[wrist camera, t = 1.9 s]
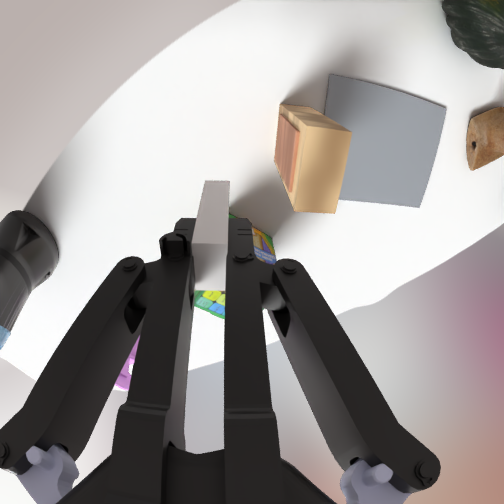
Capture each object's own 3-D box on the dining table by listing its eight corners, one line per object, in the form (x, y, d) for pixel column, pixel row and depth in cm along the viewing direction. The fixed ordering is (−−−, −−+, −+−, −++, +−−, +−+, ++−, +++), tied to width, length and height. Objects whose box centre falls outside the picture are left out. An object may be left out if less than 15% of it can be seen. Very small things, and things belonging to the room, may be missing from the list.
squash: (494, -22, 10) (521, -19, 4) (523, 57, 18) (551, 88, 12) (424, -17, 20) (427, -16, 14) (458, 58, 28) (469, 86, 23)
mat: (311, 196, 40) (312, 197, 40) (329, 74, 29) (330, 74, 29) (417, 206, 42) (419, 207, 41) (444, 108, 31) (446, 108, 30)
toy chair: (101, 326, 56) (85, 383, 44) (122, 314, 53) (105, 375, 41) (128, 345, 60) (116, 399, 48) (150, 334, 58) (140, 394, 46)
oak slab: (271, 161, 36) (291, 211, 25) (277, 103, 32) (303, 125, 20) (302, 163, 37) (335, 213, 26) (310, 107, 32) (352, 132, 21)
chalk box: (224, 209, 40) (222, 279, 29) (274, 237, 44) (290, 309, 32) (193, 251, 45) (183, 325, 33) (241, 275, 48) (245, 347, 37)
